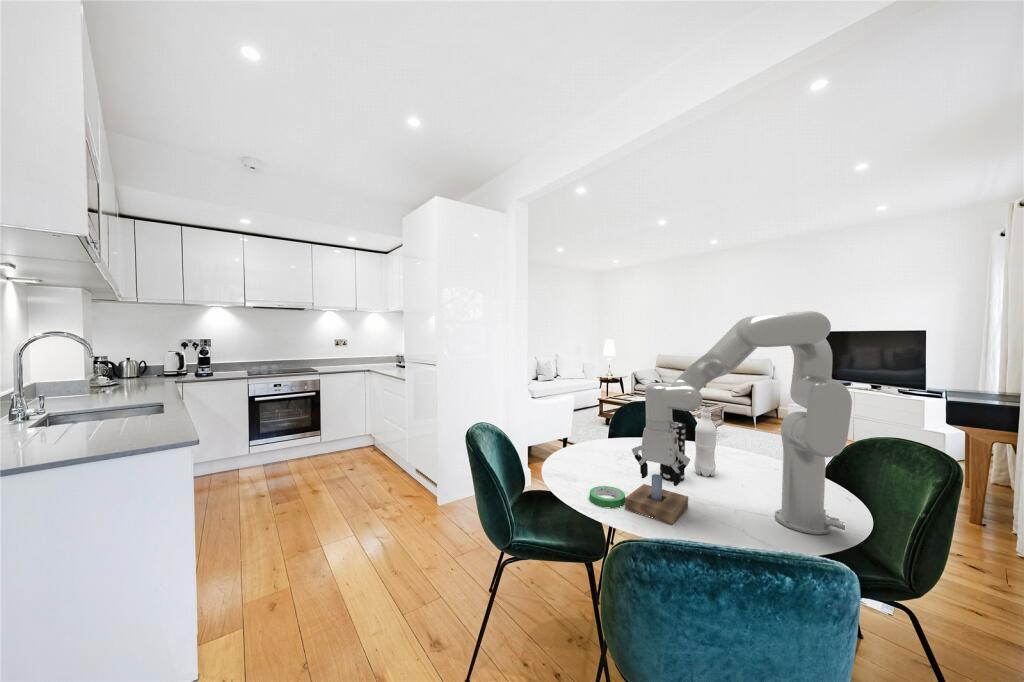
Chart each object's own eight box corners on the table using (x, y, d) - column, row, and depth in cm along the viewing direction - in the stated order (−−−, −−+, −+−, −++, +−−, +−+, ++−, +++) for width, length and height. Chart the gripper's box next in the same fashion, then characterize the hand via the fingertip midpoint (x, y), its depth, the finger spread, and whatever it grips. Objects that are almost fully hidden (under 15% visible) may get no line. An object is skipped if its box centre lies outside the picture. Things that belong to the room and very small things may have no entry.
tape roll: (584, 502, 121) (584, 494, 121) (597, 490, 130) (597, 482, 130) (618, 512, 114) (618, 503, 114) (629, 499, 123) (629, 491, 123)
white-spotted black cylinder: (679, 473, 144) (680, 421, 144) (687, 482, 136) (688, 427, 135) (657, 472, 145) (658, 420, 144) (663, 481, 137) (664, 426, 136)
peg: (663, 508, 117) (663, 476, 116) (659, 511, 114) (660, 479, 114) (653, 505, 119) (654, 473, 118) (649, 508, 116) (650, 476, 116)
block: (688, 507, 117) (688, 496, 117) (672, 525, 107) (672, 512, 106) (643, 494, 126) (643, 483, 126) (624, 509, 116) (625, 497, 116)
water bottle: (719, 477, 141) (720, 410, 140) (699, 477, 141) (701, 410, 140) (709, 470, 148) (711, 406, 147) (690, 470, 148) (692, 406, 147)
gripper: (693, 426, 113) (694, 483, 113) (636, 418, 124) (637, 470, 125) (684, 432, 107) (686, 492, 107) (626, 423, 118) (627, 477, 119)
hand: (660, 480), depth 116 cm, fingers open, 9 cm apart
